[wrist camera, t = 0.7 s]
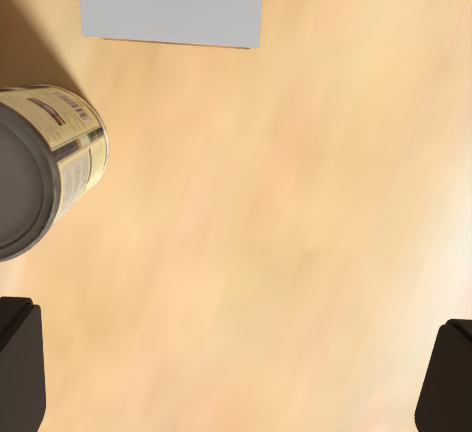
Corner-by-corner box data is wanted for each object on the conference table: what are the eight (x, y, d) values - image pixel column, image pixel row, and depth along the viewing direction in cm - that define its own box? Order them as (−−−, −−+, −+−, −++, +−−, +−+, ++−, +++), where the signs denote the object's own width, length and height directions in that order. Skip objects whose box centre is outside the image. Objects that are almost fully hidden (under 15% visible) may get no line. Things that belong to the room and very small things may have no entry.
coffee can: (-16, 183, 38) (-137, 242, 25) (-2, 68, 35) (-131, 64, 22) (98, 212, 40) (42, 282, 26) (121, 104, 37) (71, 121, 23)
